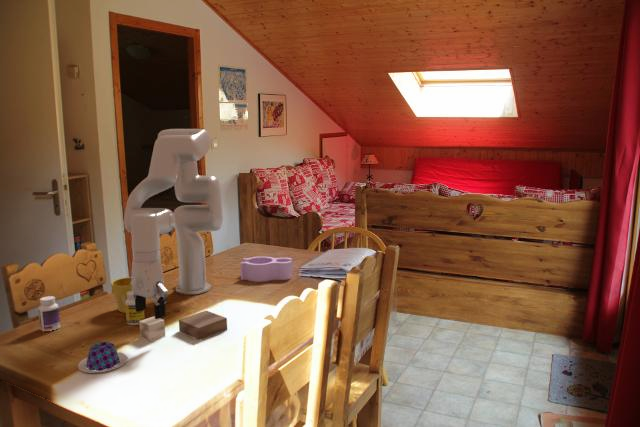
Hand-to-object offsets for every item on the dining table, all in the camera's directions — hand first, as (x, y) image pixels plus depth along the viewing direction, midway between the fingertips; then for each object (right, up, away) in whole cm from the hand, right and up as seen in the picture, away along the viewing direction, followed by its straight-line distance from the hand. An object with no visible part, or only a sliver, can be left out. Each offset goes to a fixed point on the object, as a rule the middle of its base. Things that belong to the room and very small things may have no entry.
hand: (150, 314), depth 153 cm
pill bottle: (-33, -6, +9) cm, 35 cm away
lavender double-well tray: (+28, +3, +59) cm, 65 cm away
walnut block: (+14, -6, +6) cm, 16 cm away
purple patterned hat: (-8, -11, -15) cm, 20 cm away
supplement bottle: (-9, -5, +13) cm, 17 cm away
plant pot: (-15, -3, +24) cm, 29 cm away
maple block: (0, -7, +2) cm, 7 cm away
